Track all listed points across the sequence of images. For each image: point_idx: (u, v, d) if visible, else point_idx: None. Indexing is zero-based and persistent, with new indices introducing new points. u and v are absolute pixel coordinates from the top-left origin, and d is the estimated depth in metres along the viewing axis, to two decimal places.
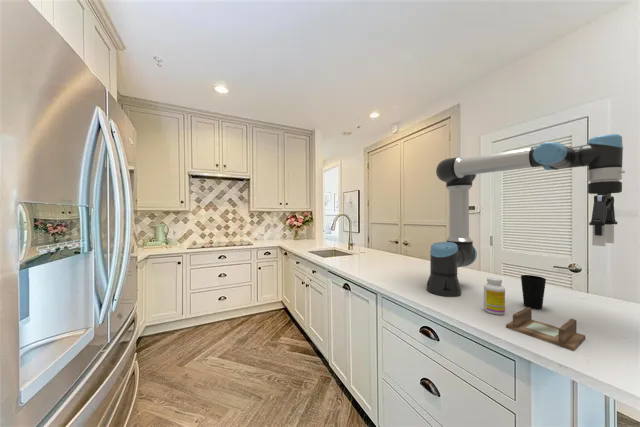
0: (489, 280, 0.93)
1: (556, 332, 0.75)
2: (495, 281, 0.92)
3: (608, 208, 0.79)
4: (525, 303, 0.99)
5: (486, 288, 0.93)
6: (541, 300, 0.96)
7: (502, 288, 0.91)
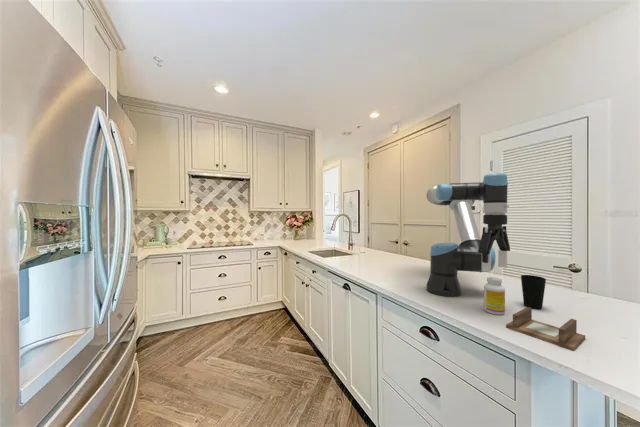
0: (489, 280, 0.93)
1: (556, 332, 0.75)
2: (495, 281, 0.92)
3: (494, 238, 0.90)
4: (525, 303, 0.99)
5: (486, 288, 0.93)
6: (541, 300, 0.96)
7: (502, 288, 0.91)
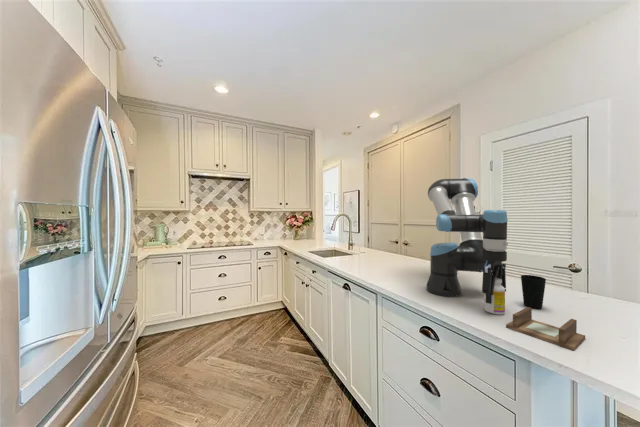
0: None
1: (556, 332, 0.75)
2: (495, 281, 0.92)
3: (495, 276, 0.91)
4: (525, 303, 0.99)
5: None
6: (541, 300, 0.96)
7: (502, 288, 0.91)
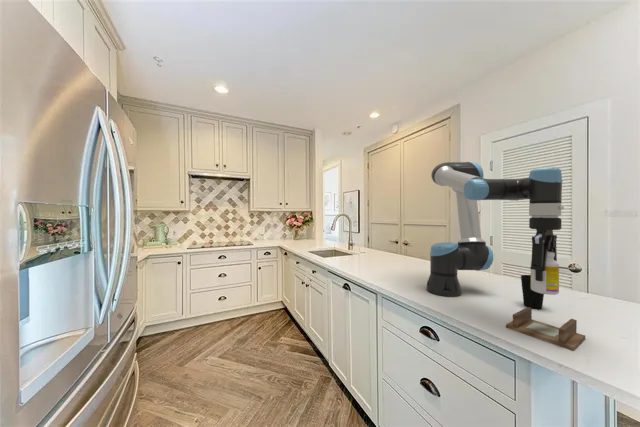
0: None
1: (556, 332, 0.75)
2: (547, 254, 0.75)
3: (548, 248, 0.74)
4: (525, 303, 0.99)
5: None
6: (541, 300, 0.96)
7: (556, 262, 0.74)
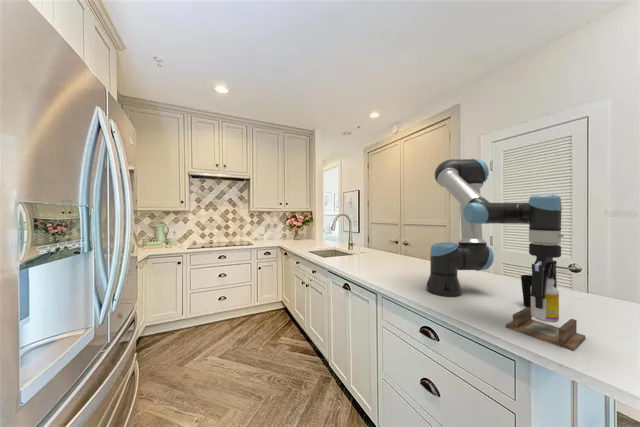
0: None
1: (556, 332, 0.75)
2: (547, 281, 0.75)
3: (547, 276, 0.75)
4: (525, 303, 0.99)
5: None
6: None
7: (556, 290, 0.75)
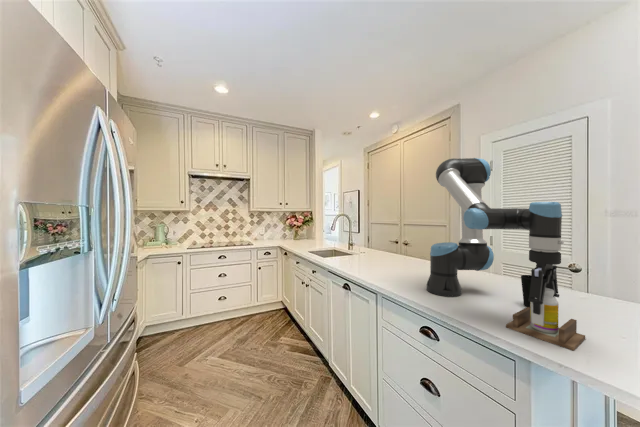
0: None
1: None
2: (546, 292, 0.75)
3: (547, 282, 0.74)
4: (525, 303, 0.99)
5: None
6: None
7: (555, 301, 0.75)
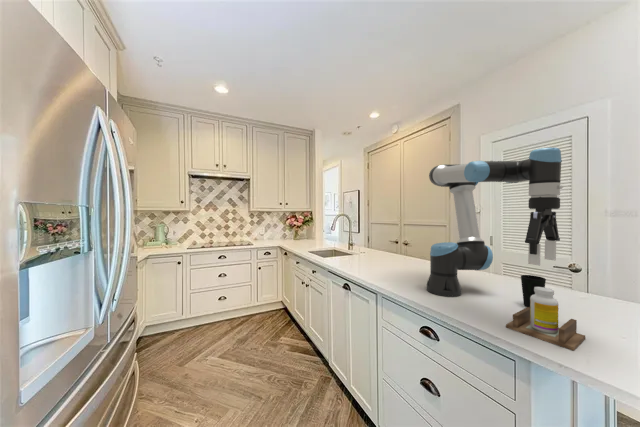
0: (538, 291, 0.77)
1: None
2: (546, 292, 0.75)
3: (545, 225, 0.76)
4: (525, 303, 0.99)
5: (534, 300, 0.77)
6: None
7: (555, 301, 0.75)
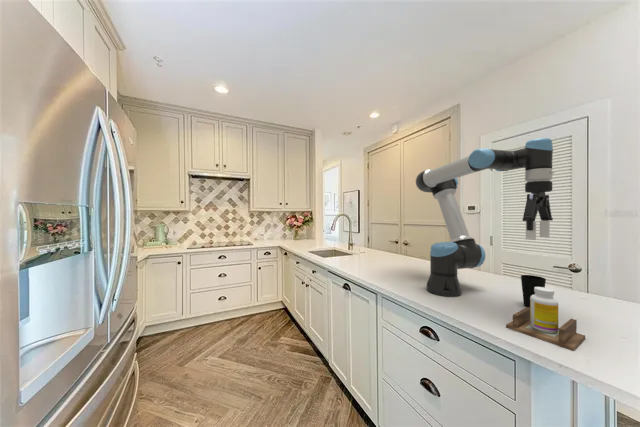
0: (538, 291, 0.77)
1: None
2: (546, 292, 0.75)
3: (539, 205, 0.87)
4: (525, 303, 0.99)
5: (534, 300, 0.77)
6: None
7: (555, 301, 0.75)
